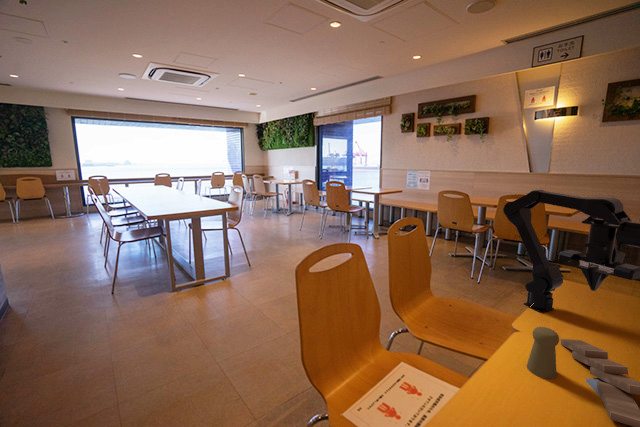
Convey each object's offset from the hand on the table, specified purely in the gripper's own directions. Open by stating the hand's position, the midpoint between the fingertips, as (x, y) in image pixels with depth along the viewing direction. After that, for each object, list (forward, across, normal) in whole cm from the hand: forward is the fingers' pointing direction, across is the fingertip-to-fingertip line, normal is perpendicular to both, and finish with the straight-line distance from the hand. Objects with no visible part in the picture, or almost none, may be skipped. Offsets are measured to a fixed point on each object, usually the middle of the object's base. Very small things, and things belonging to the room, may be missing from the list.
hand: (593, 290), depth 92 cm
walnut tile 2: (+11, -9, +18) cm, 23 cm away
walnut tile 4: (+10, -20, +26) cm, 34 cm away
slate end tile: (+12, -16, +25) cm, 32 cm away
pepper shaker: (+12, -9, +33) cm, 36 cm away
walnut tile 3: (+11, -15, +22) cm, 29 cm away
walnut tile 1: (+11, -4, +15) cm, 19 cm away
